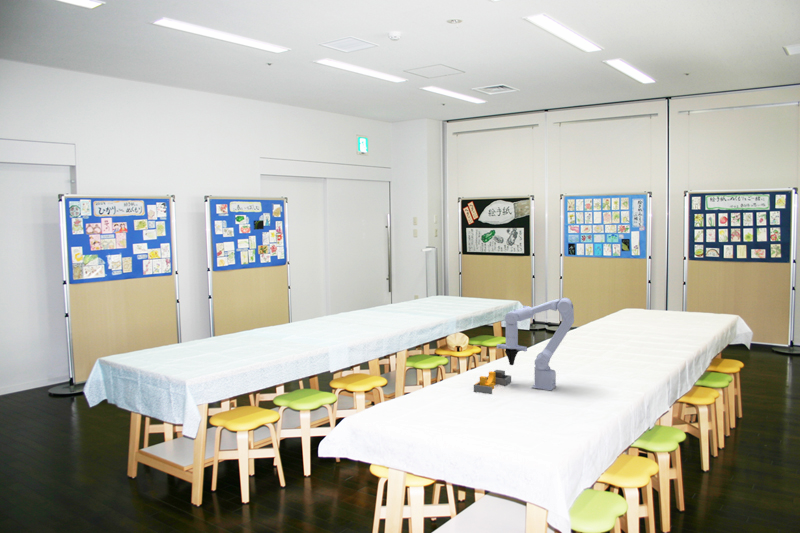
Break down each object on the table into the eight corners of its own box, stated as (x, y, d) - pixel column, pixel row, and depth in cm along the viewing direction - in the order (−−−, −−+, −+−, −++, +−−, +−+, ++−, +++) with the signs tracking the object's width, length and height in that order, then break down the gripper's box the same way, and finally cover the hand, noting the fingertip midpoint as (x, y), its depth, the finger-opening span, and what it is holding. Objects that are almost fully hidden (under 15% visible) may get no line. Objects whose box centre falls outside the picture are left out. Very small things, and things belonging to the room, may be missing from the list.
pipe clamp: (488, 391, 271) (488, 378, 271) (479, 390, 274) (479, 376, 273) (498, 385, 281) (498, 372, 281) (490, 384, 284) (490, 371, 283)
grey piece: (511, 381, 287) (511, 370, 287) (493, 394, 267) (493, 382, 267) (492, 379, 292) (492, 368, 292) (473, 391, 272) (473, 379, 272)
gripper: (494, 336, 280) (494, 364, 281) (523, 339, 273) (523, 368, 274) (499, 334, 286) (499, 361, 287) (528, 336, 279) (528, 364, 280)
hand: (511, 364), depth 281 cm, fingers closed
